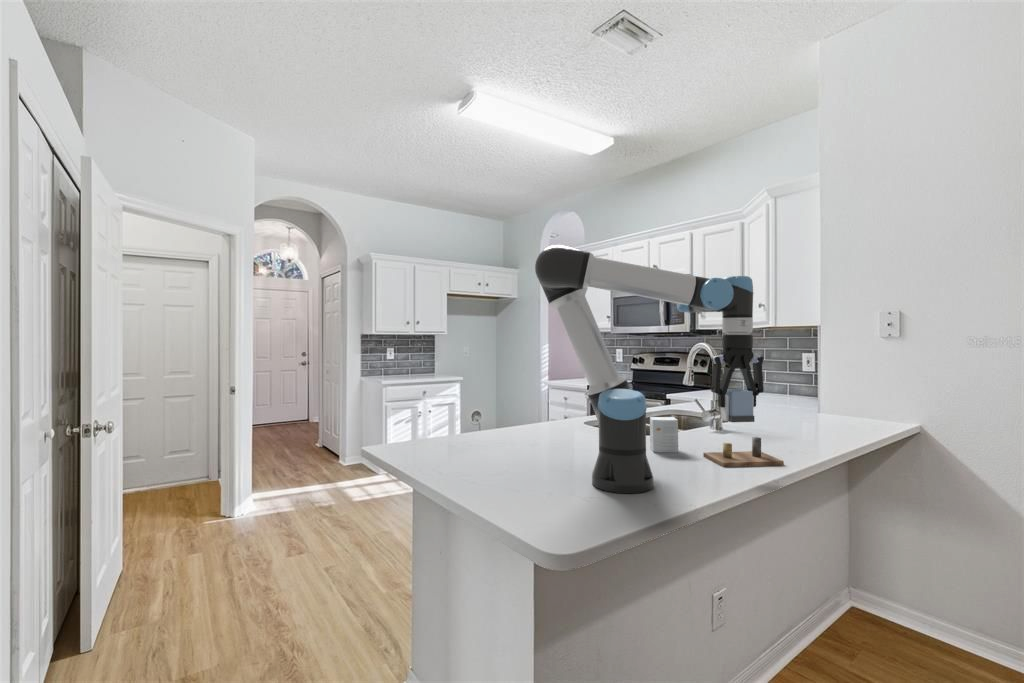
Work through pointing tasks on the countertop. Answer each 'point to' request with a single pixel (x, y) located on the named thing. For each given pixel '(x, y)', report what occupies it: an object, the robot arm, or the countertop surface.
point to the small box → (663, 434)
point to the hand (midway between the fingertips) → (737, 418)
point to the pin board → (743, 456)
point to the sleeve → (740, 405)
